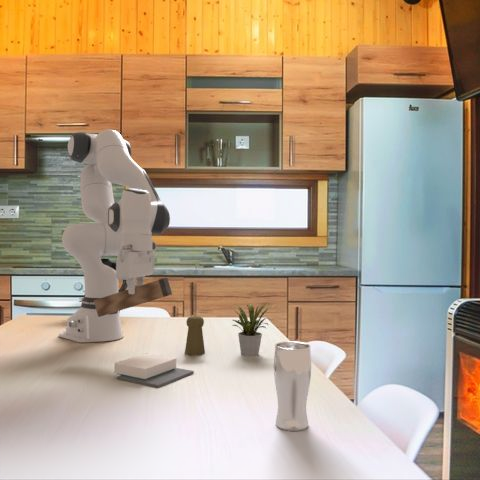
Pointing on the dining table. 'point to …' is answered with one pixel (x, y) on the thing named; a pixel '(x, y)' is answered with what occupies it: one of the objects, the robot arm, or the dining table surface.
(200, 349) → the olive tapered upright piece
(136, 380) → the mat
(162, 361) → the tile
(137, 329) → the dining table surface
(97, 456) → the dining table surface
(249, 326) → the house plant
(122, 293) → the wooden handle bar
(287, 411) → the beer glass
